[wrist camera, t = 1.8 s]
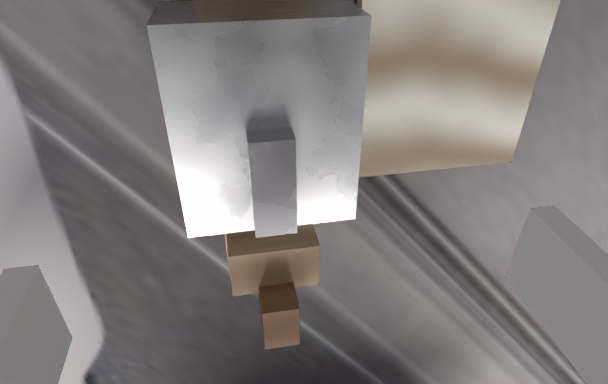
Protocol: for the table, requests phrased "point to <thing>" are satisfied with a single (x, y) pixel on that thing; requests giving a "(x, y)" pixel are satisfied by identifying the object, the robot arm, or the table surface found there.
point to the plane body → (274, 277)
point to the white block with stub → (262, 110)
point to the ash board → (449, 81)
